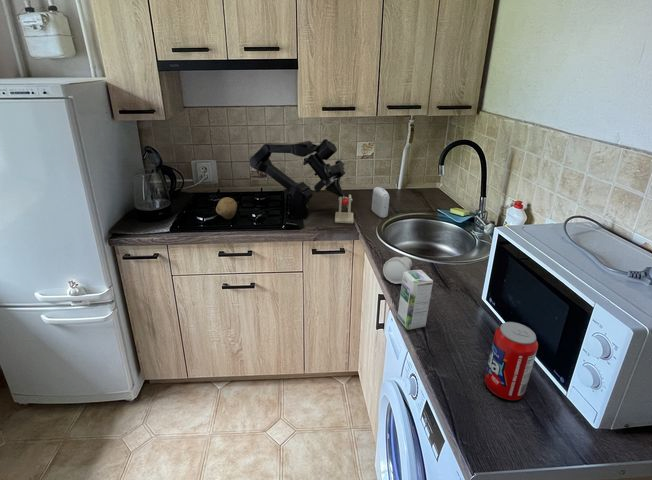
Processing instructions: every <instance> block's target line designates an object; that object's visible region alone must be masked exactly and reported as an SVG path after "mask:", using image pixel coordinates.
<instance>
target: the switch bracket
mask: <svg viewBox="0 0 652 480" xmlns="http://www.w3.org/2000/svg"><path fill="white" fill-rule="evenodd" d="M337 198H338V200H337V202H338V211H335V214H334V223H342V224H354V212H351V211H352V210H351V209H352V202H353V198H352V194H348V200H349V204H348V205H347V212H346V211H342V205H343V204H342V200H343V197H340V196H339V197H337Z"/></svg>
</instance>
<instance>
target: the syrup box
mask: <svg viewBox="0 0 652 480" xmlns="http://www.w3.org/2000/svg"><path fill="white" fill-rule="evenodd" d="M433 285H434V280H433V279H432V278H430V276H429V275H428V274H427V273H426V272H425V271H424V270H423V269H413V270H411V271H406V272H403V279H402V283H401V288H400V293H399V294H400V295H399V302H398V309H397V316H396V317H397V319H398V320H399V322H400V323H401V324H402V325H403V327H404V328H405V329H406V330H407V331H410V330H415V329H421V328H426V326H427V320H428V314H429V308H430V303H431V297H432V290H433Z"/></svg>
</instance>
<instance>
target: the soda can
mask: <svg viewBox="0 0 652 480" xmlns="http://www.w3.org/2000/svg"><path fill="white" fill-rule="evenodd" d="M538 349H539V342H538V340H537V335H536V333H535V332H534V330H532V329H531V328H530V327H529V326H527V325H525V324H521V323H519V322H515V321H505V322H503V323H502V324H501V325H500V326H499V327H497V328H496V329H495V331H494V336H493V340H492V344H491V349H490V353H489V356H488V362H487V364H486V365H487V366H486V370H485V373H484V384H485V386H486V387H487V389H488V390H489V391H490V392H492V394H494V395H495V396H497V397H499V398H501V399H504V400H507V401H518V400H521V399H523V398H524V396H525V394H526V391H527V387H528V384H529V381H530V377H531V373H532V370H533V367H534V363H535V360H536V356H537V353H538Z"/></svg>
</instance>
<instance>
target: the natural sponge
mask: <svg viewBox="0 0 652 480" xmlns="http://www.w3.org/2000/svg"><path fill="white" fill-rule="evenodd" d="M237 210H238V204H237V201H235V199H233V197H232V198H231V197H228V196H227V197H223V198H221V199H219V201H218V203H217V205H216V207H215V212H216V213H217V215H219V216H221V217H222V218H224V219H226V220H231V219H233V218H234V217H235V215H236V213H237Z"/></svg>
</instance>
